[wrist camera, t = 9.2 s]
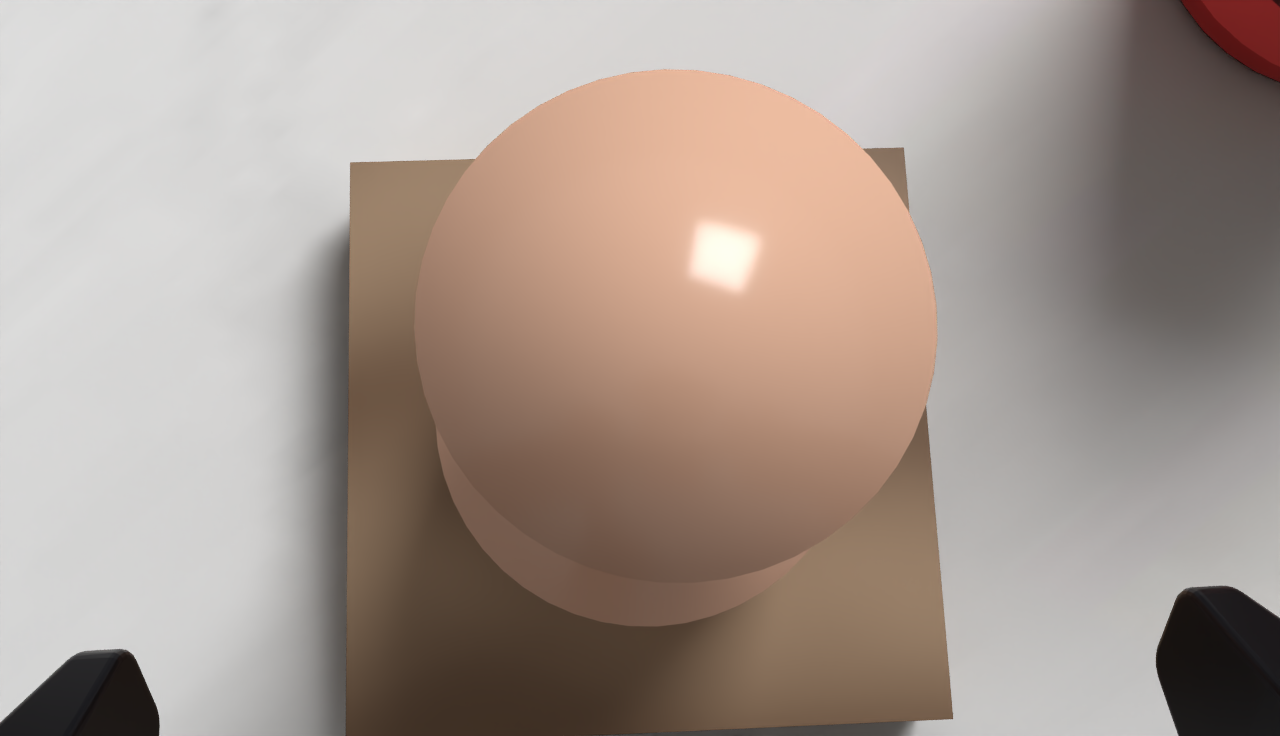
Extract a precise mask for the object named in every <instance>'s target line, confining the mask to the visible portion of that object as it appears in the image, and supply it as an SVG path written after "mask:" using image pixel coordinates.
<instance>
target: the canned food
mask: <svg viewBox="0 0 1280 736" xmlns="http://www.w3.org/2000/svg"><path fill="white" fill-rule="evenodd" d="M1181 1H1182V3H1183V5H1184V6H1185V7H1186V9H1187V10H1188V11H1189V13H1190V14H1191V15H1192V17H1193V18H1194V19H1195V21H1196V22H1197V23H1198V25H1199V26H1200V27H1201V29H1202V30H1203V31H1204V32H1205V33H1206V34H1207V35H1208V36H1209V37H1210V38H1211V39H1212V40H1214V41H1215V42H1216V43H1217V44H1218V45H1219V46H1220V47H1221V48H1222V49H1223V50H1224V51H1225V52H1226V53H1228V54H1229V55H1231V56H1232V57H1234V58H1235V59H1237V60H1238V61H1240V62H1241V63H1243V64H1244V65H1246V66H1247V67H1249V68H1250V69H1252V70H1253V71H1255V72H1258V73H1260V74H1262V75H1265V76H1267V77H1269V78H1272V79H1274V80H1276V81H1278V82H1280V0H1181Z"/></svg>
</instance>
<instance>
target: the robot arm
mask: <svg viewBox="0 0 1280 736" xmlns="http://www.w3.org/2000/svg"><path fill="white" fill-rule="evenodd" d="M1156 668H1157V674H1158V677H1159V681H1160V684H1161V686H1162V689H1163V692H1164V695H1165V698H1166V701H1167V704H1168V707H1169V710H1170V713H1171V715H1172V718H1173V721H1174V724H1175V727H1176V730H1177V733H1178V736H1280V618H1279V617H1278V616H1276V615H1275V614H1273V613H1272V612H1270V611H1269V610H1267V609H1266V608H1265V607H1263V606H1262V605H1260V604H1259V603H1257V602H1256V601H1254V600H1253V599H1252V598H1250V597H1249V596H1247V595H1246V594H1244V593H1243V592H1241V591H1239V590H1237V589H1235V588H1233V587H1229V586H1208V587H1191V588H1187V589H1184V590H1183V591H1182V592H1181V593H1180V594H1179V595H1178V596H1177V598H1176V600H1175V603H1174V606H1173V608H1172V611H1171V613H1170V616H1169V619H1168V621H1167V624H1166V626H1165V629H1164V632H1163V634H1162V637H1161V639H1160V642H1159V645H1158V648H1157V652H1156ZM159 727H160V725H159V715H158V710H157V707H156V704H155V702H154V700H153V698H152V695H151V693H150V691H149V688H148V686H147V684H146V681H145V679H144V677H143V675H142V672H141V670H140V668H139V665H138V663H137V661H136V659H135V657H134V656H133V655H132V654H131V653H130V652H129V651H127V650H123V649H112V650H94V651H84V652H80V653H77V654H76V655H74V656H72V657H71V658H70V659H68V660H67V661H66V662H65V663H64V664H63V665H62V666H61V667H60V668H58V669H57V670H56V671H55V672H54V673H53V674H52V675H51V676H50V677H49V678H48V679H47V680H46V681H44V682H43V683H42V684H41V685H40V686H39V687H38V688H37V689H36V690H35V691H34V692H33V693H32V694H30V695H29V696H28V697H27V698H26V699H25V700H24V701H23V702H22V703H21V704H20V705H19V706H18V707H16V708H15V709H14V710H13V711H12V712H11V713H10V714H9V715H8V716H7V717H6V718H5V719H4V720H2V721H1V722H0V736H159Z"/></svg>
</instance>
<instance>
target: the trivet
mask: <svg viewBox="0 0 1280 736" xmlns="http://www.w3.org/2000/svg"><path fill="white" fill-rule="evenodd" d="M863 150H864V151H865V152H866V153H867V154H868V155H869V156H870V157H871V158H872V159H873V161H874V162H875V163H876V164H877V166H878V167H879V168H880V169H881V171H882V172H883V173H884V174H885V176H886V177H887V178H888V179H889V181H890V182H891V183H892V185H893V187H894V188H895V190H896V192H897V193H898V195H899V197H900V198H901V200H902V202H903V203H904V205H905V206H906V208H907V210H908V212H909V203H908V192H907V180H906V169H905V157H904V148H872V149H863ZM474 160H475V159H465V160H427V161H390V162H353V163H350V259H349V385H348V512H347V638H346V736H592V735H614V734H636V733H658V732H680V731H702V730H723V729H745V728H767V727H789V726H811V725H833V724H855V723H877V722H898V721H920V720H942V719H953V712H952V700H951V689H950V677H949V666H948V654H947V643H946V631H945V619H944V608H943V596H942V585H941V573H940V562H939V550H938V538H937V527H936V515H935V504H934V492H933V481H932V469H931V458H930V446H929V434H928V423H927V411H926V406H925V409H924V411H923V414H922V416H921V419H920V421H919V424H918V427H917V429H916V432H915V434H914V437H913V439H912V440H911V442H910V444H909V446H908V448H907V449H906V451H905V453H904V455H903V457H902V458H901V460H900V462H899V464H898V466H897V467H896V468H895V470H894V471H893V472H892V474H891V475H890V476H889V478H888V479H887V480H886V482H885V483H884V484H883V486H882V487H881V488H880V490H879V491H878V492H877V494H876V495H875V496H874V497H873V498H872V499H871V500H870V501H869V502H868V503H867V504H866V505H865V506H864V507H863V508H862V509H861V510H860V511H859V512H858V513H857V514H856V515H855V516H854V517H853V518H852V519H851V520H849V521H848V522H847V523H845V524H844V525H843V526H842V527H840V528H839V529H838V530H836V531H835V532H834V533H833V534H831V535H830V536H829V537H827V538H826V539H825V540H823V541H821V542H819V543H818V544H816V545H814V546H812V547H811V548H810V549H809V550H808V551H807V553H806V554H805V555H804V556H803V557H802V558H801V559H800V560H799V561H798V562H797V563H796V564H795V565H794V566H793V567H792V568H791V569H790V570H789V571H788V572H787V573H786V574H785V575H784V576H783V577H781V578H780V579H779V580H777V581H776V582H775V583H774V584H772V585H771V586H770V587H768V588H767V589H766V590H764V591H763V592H761V593H760V594H758V595H756V596H754V597H753V598H751V599H749V600H748V601H746V602H744V603H742V604H741V605H739V606H736V607H734V608H731V609H729V610H727V611H724V612H722V613H719V614H717V615H714V616H711V617H707V618H704V619H700V620H696V621H692V622H688V623H683V624H674V625H666V626H658V627H656V626H625V625H619V624H612V623H605V622H600V621H596V620H593V619H589V618H586V617H583V616H579V615H576V614H573V613H571V612H568V611H566V610H564V609H562V608H559V607H557V606H555V605H553V604H550V603H548V602H546V601H545V600H543V599H541V598H540V597H538V596H537V595H535V594H533V593H532V592H530V591H528V590H527V589H525V588H524V587H522V586H521V585H520V584H519V583H518V582H516V581H515V580H514V579H513V578H511V577H510V576H509V575H508V574H507V573H505V572H504V571H503V570H502V569H501V568H500V567H499V566H498V565H497V564H496V563H495V562H494V561H493V560H492V559H491V558H490V556H489V555H488V554H487V553H486V552H485V551H484V550H483V549H482V548H481V546H480V545H479V543H478V542H477V541H476V539H475V538H474V536H473V535H472V533H471V532H470V531H469V529H468V528H467V526H466V525H465V523H464V521H463V519H462V517H461V515H460V513H459V511H458V509H457V508H456V506H455V504H454V502H453V499H452V497H451V494H450V491H449V488H448V486H447V483H446V480H445V477H444V474H443V470H442V465H441V461H440V456H439V452H438V446H437V434H436V425H435V422H434V420H433V417H432V414H431V411H430V409H429V406H428V403H427V401H426V398H425V395H424V391H423V386H422V382H421V377H420V373H419V368H418V364H417V356H416V344H415V332H414V319H415V300H416V290H417V285H418V279H419V274H420V269H421V263H422V259H423V256H424V253H425V250H426V247H427V244H428V241H429V238H430V235H431V232H432V229H433V227H434V225H435V223H436V220H437V218H438V216H439V214H440V212H441V210H442V208H443V206H444V204H445V202H446V200H447V198H448V197H449V195H450V193H451V192H452V190H453V189H454V187H455V186H456V184H457V183H458V181H459V180H460V178H461V177H462V175H463V174H464V172H465V171H466V170H467V169H468V167H469V166H470V165H471V164H472V163H473V162H474Z"/></svg>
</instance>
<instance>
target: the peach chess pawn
mask: <svg viewBox="0 0 1280 736" xmlns="http://www.w3.org/2000/svg"><path fill="white" fill-rule="evenodd" d="M414 332H415V344H416V356H417V364H418V368H419V373H420V377H421V382H422V386H423V391H424V395H425V398H426V401H427V403H428V406H429V409H430V411H431V414H432V417H433V420H434V422H435V425H436V434H437V446H438V452H439V456H440V461H441V465H442V470H443V474H444V477H445V480H446V483H447V486H448V488H449V491H450V494H451V497H452V499H453V502H454V504H455V506H456V508H457V509H458V511H459V513H460V515H461V517H462V519H463V521H464V523H465V525H466V526H467V528H468V529H469V531H470V532H471V533H472V535H473V536H474V538H475V539H476V541H477V542H478V543H479V545H480V546H481V548H482V549H483V550H484V551H485V552H486V553H487V554H488V555H489V556H490V558H491V559H492V560H493V561H494V562H495V563H496V564H497V565H498V566H499V567H500V568H501V569H502V570H503V571H504V572H505V573H507V574H508V575H509V576H510V577H511V578H513V579H514V580H515V581H516V582H518V583H519V584H520V585H521V586H522V587H524V588H525V589H527V590H528V591H530V592H532V593H533V594H535V595H537V596H538V597H540V598H541V599H543V600H545V601H546V602H548V603H550V604H553V605H555V606H557V607H559V608H562V609H564V610H566V611H568V612H571V613H573V614H576V615H579V616H583V617H586V618H589V619H593V620H596V621H600V622H605V623H612V624H619V625H625V626H656V627H658V626H666V625H674V624H683V623H688V622H692V621H696V620H700V619H704V618H707V617H711V616H714V615H717V614H719V613H722V612H724V611H727V610H729V609H731V608H734V607H736V606H739V605H741V604H742V603H744V602H746V601H748V600H749V599H751V598H753V597H754V596H756V595H758V594H760V593H761V592H763V591H764V590H766V589H767V588H768V587H770V586H771V585H772V584H774V583H775V582H776V581H777V580H779V579H780V578H781V577H783V576H784V575H785V574H786V573H787V572H788V571H789V570H790V569H791V568H792V567H793V566H794V565H795V564H796V563H797V562H798V561H799V560H800V559H801V558H802V557H803V556H804V555H805V554H806V553H807V551H808V550H809V549H810V548H811V547H812V546H814V545H816V544H818V543H819V542H821V541H823V540H825V539H826V538H827V537H829V536H830V535H831V534H833V533H834V532H835V531H836V530H838V529H839V528H840V527H842V526H843V525H844V524H845V523H847V522H848V521H849V520H851V519H852V518H853V517H854V516H855V515H856V514H857V513H858V512H859V511H860V510H861V509H862V508H863V507H864V506H865V505H866V504H867V503H868V502H869V501H870V500H871V499H872V498H873V497H874V496H875V495H876V494H877V492H878V491H879V490H880V488H881V487H882V486H883V484H884V483H885V482H886V480H887V479H888V478H889V476H890V475H891V474H892V472H893V471H894V470H895V468H896V467H897V466H898V464H899V462H900V460H901V458H902V457H903V455H904V453H905V451H906V449H907V448H908V446H909V444H910V442H911V440H912V439H913V437H914V434H915V432H916V429H917V427H918V424H919V421H920V419H921V416H922V414H923V411H924V409H925V406H926V403H927V399H928V394H929V390H930V386H931V382H932V378H933V374H934V366H935V357H936V347H937V308H936V300H935V294H934V288H933V281H932V275H931V271H930V267H929V264H928V261H927V257H926V254H925V251H924V247H923V244H922V241H921V239H920V236H919V234H918V232H917V230H916V227H915V225H914V223H913V221H912V218H911V216H910V214H909V212H908V210H907V208H906V206H905V205H904V203H903V202H902V200H901V198H900V197H899V195H898V193H897V192H896V190H895V188H894V187H893V185H892V183H891V182H890V181H889V179H888V178H887V177H886V176H885V174H884V173H883V172H882V171H881V169H880V168H879V167H878V166H877V164H876V163H875V162H874V161H873V159H872V158H871V157H870V156H869V155H868V154H867V153H866V152H865V151H864V150H863V149H862V148H861V147H860V146H859V145H858V144H857V143H856V142H855V141H854V140H853V139H852V138H851V137H850V136H849V135H848V134H846V133H845V132H844V131H842V130H841V129H840V128H838V127H837V126H836V125H835V124H833V123H832V122H831V121H829V120H828V119H827V118H825V117H824V116H823V115H821V114H820V113H818V112H816V111H815V110H813V109H811V108H809V107H808V106H806V105H804V104H802V103H801V102H799V101H797V100H796V99H794V98H792V97H790V96H787V95H785V94H783V93H780V92H778V91H776V90H773V89H771V88H769V87H766V86H764V85H761V84H758V83H754V82H751V81H747V80H744V79H740V78H737V77H733V76H730V75H723V74H717V73H710V72H704V71H697V70H666V69H664V70H653V71H642V72H632V73H627V74H622V75H618V76H613V77H609V78H604V79H600V80H597V81H594V82H591V83H589V84H586V85H583V86H580V87H577V88H575V89H572V90H569V91H567V92H565V93H563V94H561V95H559V96H557V97H555V98H553V99H551V100H549V101H547V102H545V103H543V104H541V105H539V106H538V107H536V108H535V109H533V110H532V111H530V112H529V113H527V114H526V115H524V116H523V117H521V118H520V119H519V120H517V121H516V122H514V123H513V124H511V125H510V126H509V127H508V128H507V129H506V130H505V131H503V132H502V133H501V134H500V135H499V136H498V137H497V138H496V139H494V140H493V141H492V142H491V143H490V144H489V145H488V146H487V147H486V148H485V149H484V150H483V151H482V152H481V154H480V155H479V156H478V157H477V158H476V159H475V160H474V162H473V163H472V164H471V165H470V166H469V167H468V169H467V170H466V171H465V172H464V174H463V175H462V177H461V178H460V180H459V181H458V183H457V184H456V186H455V187H454V189H453V190H452V192H451V193H450V195H449V197H448V198H447V200H446V202H445V204H444V206H443V208H442V210H441V212H440V214H439V216H438V218H437V220H436V223H435V225H434V227H433V229H432V232H431V235H430V238H429V241H428V244H427V247H426V250H425V253H424V256H423V259H422V263H421V269H420V274H419V279H418V285H417V290H416V300H415V319H414Z"/></svg>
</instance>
